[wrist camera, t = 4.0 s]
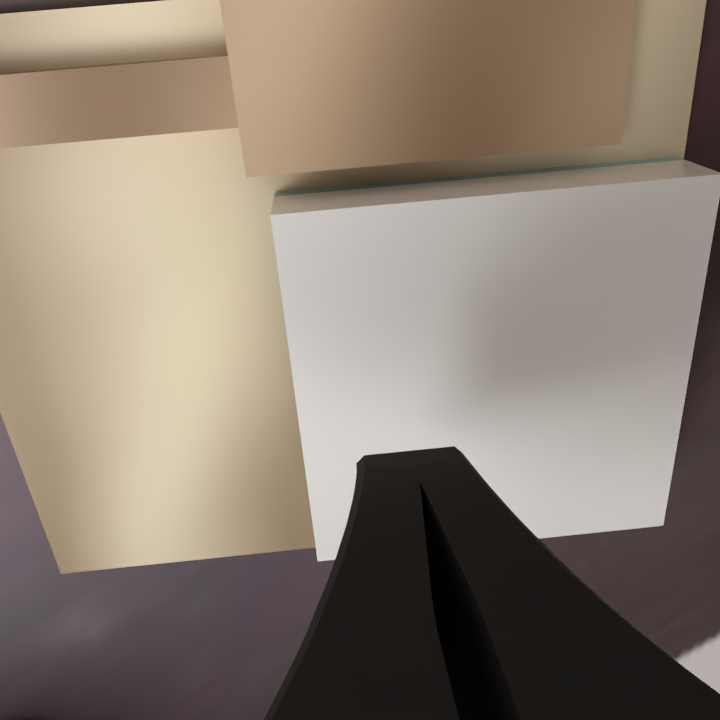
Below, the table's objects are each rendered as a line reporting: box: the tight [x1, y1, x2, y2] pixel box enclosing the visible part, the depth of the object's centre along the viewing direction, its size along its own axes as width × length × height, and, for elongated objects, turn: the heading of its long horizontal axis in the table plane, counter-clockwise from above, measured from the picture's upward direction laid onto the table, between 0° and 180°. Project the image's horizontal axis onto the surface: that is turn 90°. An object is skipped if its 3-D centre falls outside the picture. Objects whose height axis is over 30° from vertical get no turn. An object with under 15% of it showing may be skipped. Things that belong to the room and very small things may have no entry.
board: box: [0, 0, 707, 574], centre depth 13 cm, size 13×11×1 cm
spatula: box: [0, 0, 636, 177], centre depth 10 cm, size 11×2×1 cm, turn 94°
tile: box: [270, 157, 720, 561], centre depth 12 cm, size 2×7×7 cm
